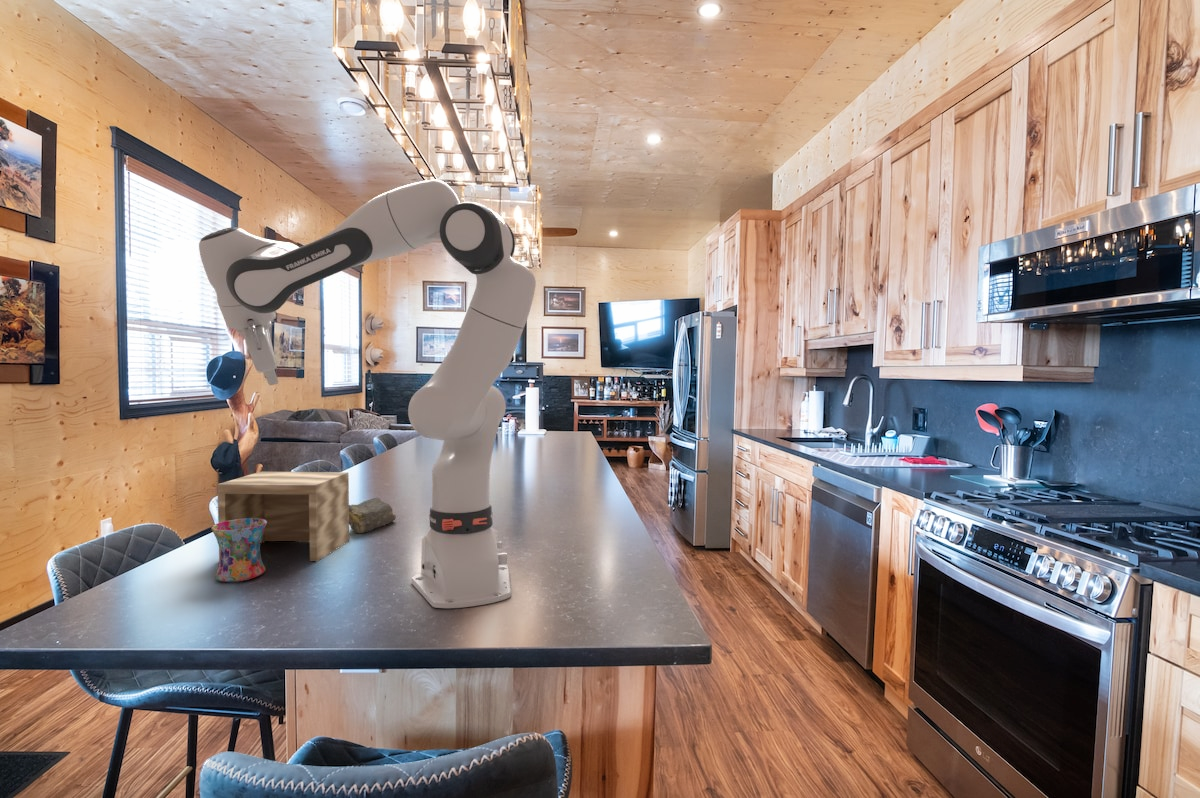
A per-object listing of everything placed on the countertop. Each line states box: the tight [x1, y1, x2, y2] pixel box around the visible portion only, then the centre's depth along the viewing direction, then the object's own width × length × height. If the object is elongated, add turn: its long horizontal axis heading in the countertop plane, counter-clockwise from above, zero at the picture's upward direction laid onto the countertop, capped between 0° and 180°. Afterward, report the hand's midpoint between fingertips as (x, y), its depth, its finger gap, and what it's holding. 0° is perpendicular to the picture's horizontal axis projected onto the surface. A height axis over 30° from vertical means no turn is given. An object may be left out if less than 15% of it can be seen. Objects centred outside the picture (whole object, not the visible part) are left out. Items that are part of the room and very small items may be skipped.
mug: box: [211, 518, 267, 583], centre depth 116 cm, size 12×9×11 cm
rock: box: [349, 497, 397, 534], centre depth 152 cm, size 17×7×10 cm
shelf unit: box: [217, 471, 350, 562], centre depth 131 cm, size 16×21×16 cm
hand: (272, 374), depth 122 cm, fingers open, 8 cm apart
